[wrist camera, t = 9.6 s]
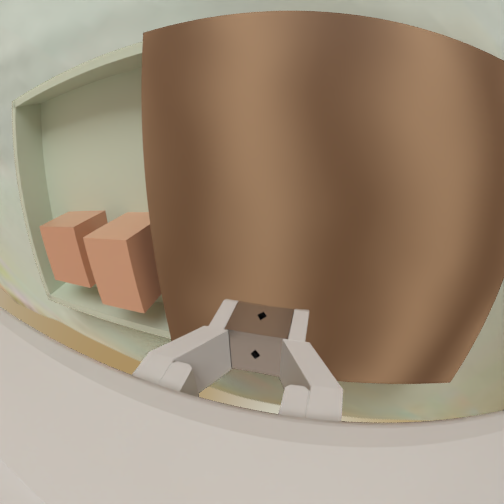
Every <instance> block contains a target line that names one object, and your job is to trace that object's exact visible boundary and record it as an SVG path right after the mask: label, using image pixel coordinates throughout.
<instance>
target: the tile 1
mask: <svg viewBox="0 0 504 504" xmlns="http://www.w3.org/2000/svg"><path fill="white" fill-rule="evenodd" d="M107 223H108V222H107V217H106V211H105V210H99V211H69V212H67V213H65V214H63V215H61V216H59V217H57V218H55V219H53V220H51V221H49V222H47V223H45V224H43V225H41V226H39V227H40V231H41V235H42V239H43V242H44V246H45V249H46V253H47V256H48V259H49V262H50V265H51V268H52V271H53V274H54V277H55V280H59V281H63V282H67V283H71V284H75V285H80V286H84V287H88V288H91V287H93V286H94V285H95V284H96V282H95V279H94V276H93V273H92V269H91V266H90V262H89V259H88V255H87V252H86V248H85V244H84V240H83V237H85V236H86V235H88V234H90V233H91V232H93V231H95V230H97V229H98V228H100V227H102V226H103V225H105V224H107Z"/></svg>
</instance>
